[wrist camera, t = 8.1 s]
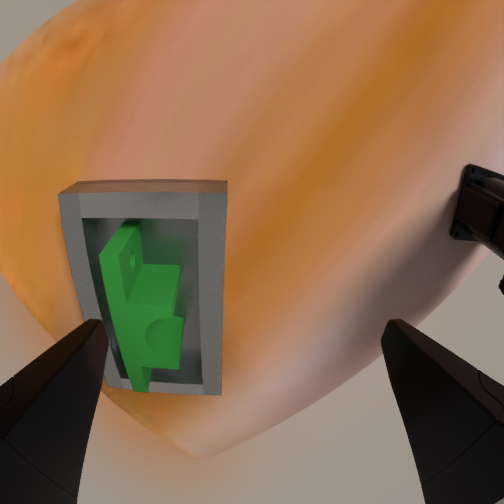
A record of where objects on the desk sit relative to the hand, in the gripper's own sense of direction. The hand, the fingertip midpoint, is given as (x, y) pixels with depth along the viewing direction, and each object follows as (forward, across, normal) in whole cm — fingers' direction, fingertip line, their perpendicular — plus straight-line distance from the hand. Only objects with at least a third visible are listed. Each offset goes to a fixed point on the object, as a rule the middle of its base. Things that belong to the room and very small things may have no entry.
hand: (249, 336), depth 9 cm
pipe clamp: (+11, +6, +6) cm, 14 cm away
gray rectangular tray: (+11, +6, +7) cm, 15 cm away
